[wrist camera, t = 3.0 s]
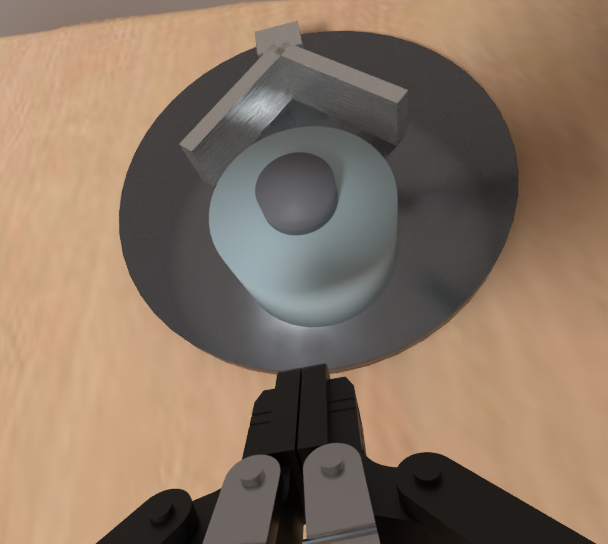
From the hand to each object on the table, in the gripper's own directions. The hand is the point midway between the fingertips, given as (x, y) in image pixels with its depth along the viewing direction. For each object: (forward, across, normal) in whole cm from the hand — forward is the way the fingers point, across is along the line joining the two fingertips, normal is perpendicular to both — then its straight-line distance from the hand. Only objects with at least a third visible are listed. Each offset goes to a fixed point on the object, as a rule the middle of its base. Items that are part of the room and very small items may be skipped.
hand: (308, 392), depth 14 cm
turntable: (+22, 0, -3) cm, 22 cm away
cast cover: (+16, 0, +1) cm, 16 cm away
